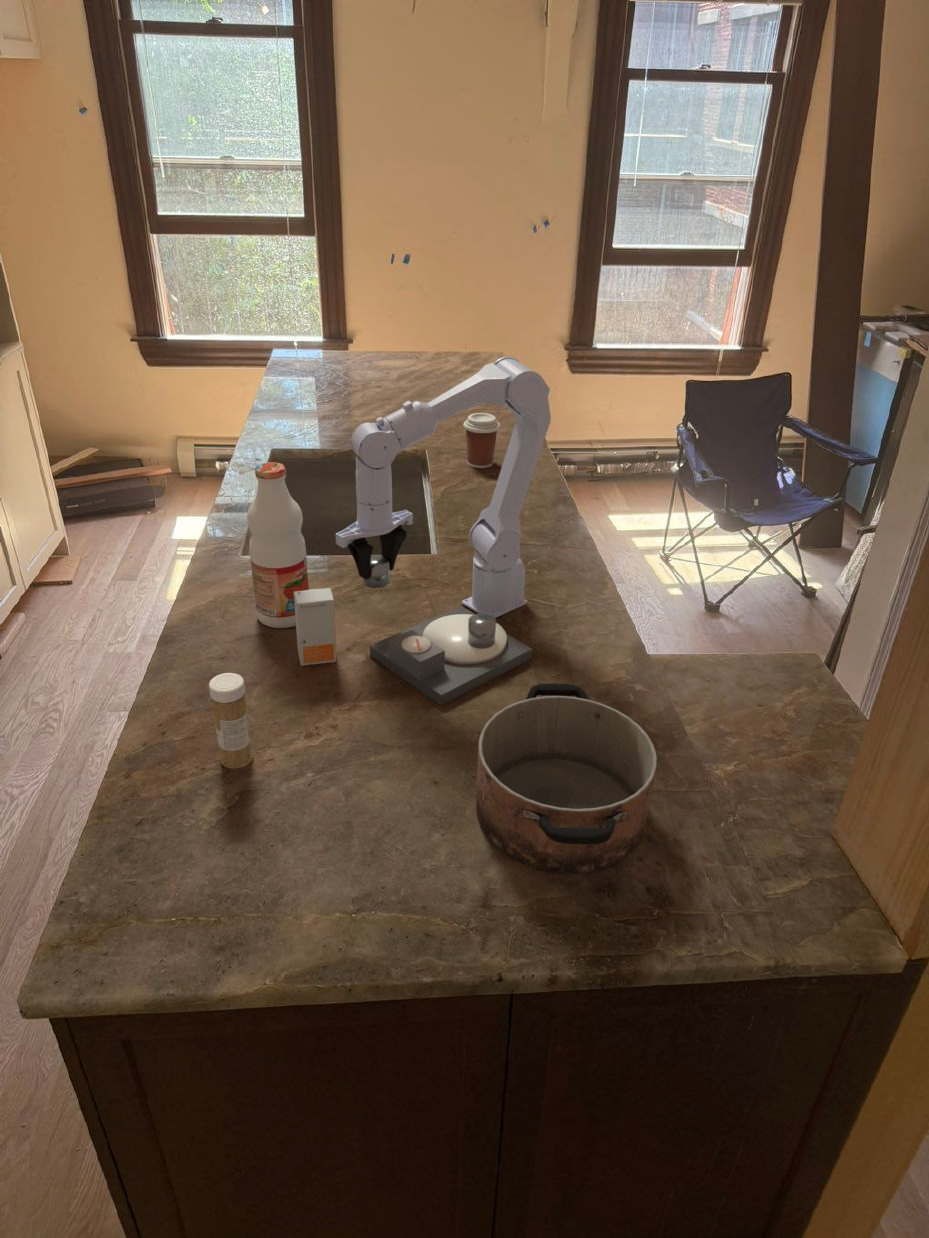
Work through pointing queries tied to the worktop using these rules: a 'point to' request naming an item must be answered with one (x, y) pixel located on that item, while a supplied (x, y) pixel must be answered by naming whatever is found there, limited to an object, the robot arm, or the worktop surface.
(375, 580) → the cylinder
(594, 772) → the cooking pot
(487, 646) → the cylinder
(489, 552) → the robot arm
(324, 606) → the skincare box
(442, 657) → the kitchen scale
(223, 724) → the sprinkles bottle
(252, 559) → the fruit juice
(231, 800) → the worktop surface
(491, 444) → the coffee cup
